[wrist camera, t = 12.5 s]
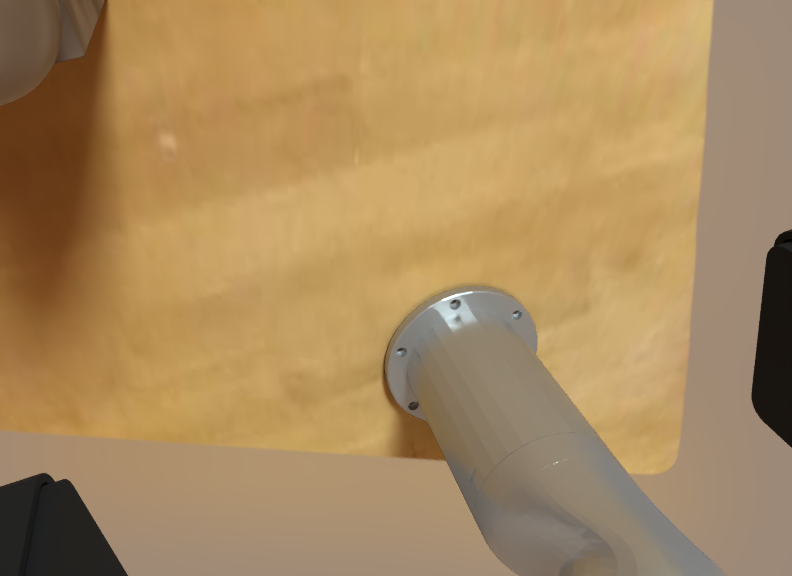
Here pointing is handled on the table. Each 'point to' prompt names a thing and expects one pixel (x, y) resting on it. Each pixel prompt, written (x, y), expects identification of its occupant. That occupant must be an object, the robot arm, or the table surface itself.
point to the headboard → (41, 40)
